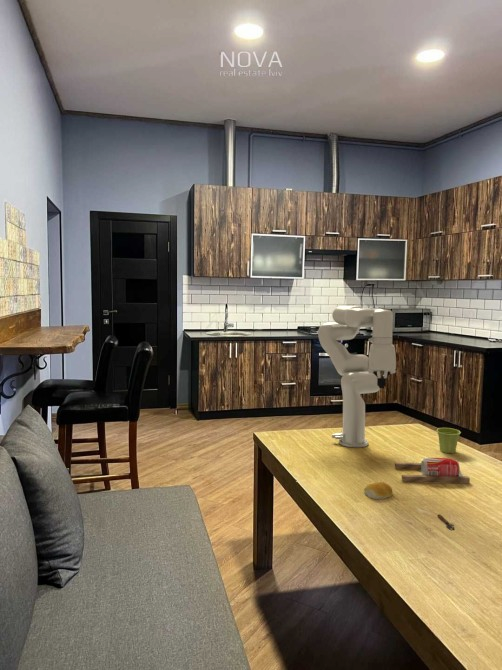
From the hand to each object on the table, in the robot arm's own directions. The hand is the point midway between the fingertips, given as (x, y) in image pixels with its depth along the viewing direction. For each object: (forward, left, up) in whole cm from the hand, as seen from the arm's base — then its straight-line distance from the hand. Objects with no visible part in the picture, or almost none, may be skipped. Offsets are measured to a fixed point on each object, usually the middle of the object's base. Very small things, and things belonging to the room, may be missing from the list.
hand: (381, 387), depth 201 cm
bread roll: (-6, -34, -30) cm, 46 cm away
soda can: (+12, -19, -25) cm, 34 cm away
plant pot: (+30, +12, -29) cm, 44 cm away
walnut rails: (+16, -16, -29) cm, 37 cm away
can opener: (+10, -54, -30) cm, 62 cm away
